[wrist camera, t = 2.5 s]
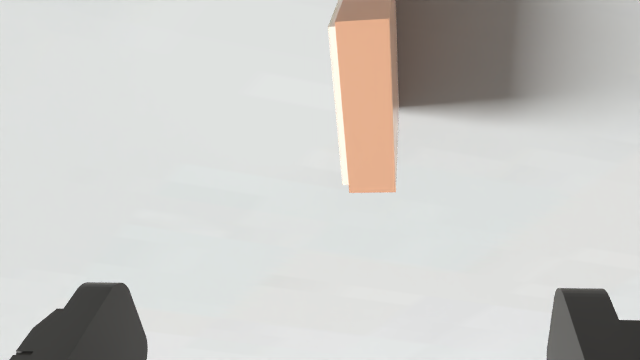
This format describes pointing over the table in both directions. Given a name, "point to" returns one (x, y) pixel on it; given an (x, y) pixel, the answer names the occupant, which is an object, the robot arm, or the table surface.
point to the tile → (366, 92)
